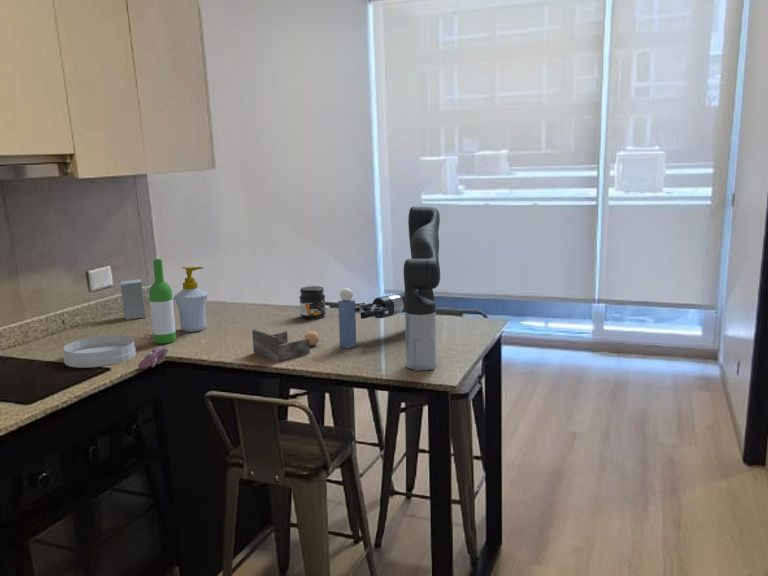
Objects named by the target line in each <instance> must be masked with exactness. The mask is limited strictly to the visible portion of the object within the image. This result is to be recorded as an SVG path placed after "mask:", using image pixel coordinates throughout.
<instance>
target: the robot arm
mask: <svg viewBox="0 0 768 576" xmlns="http://www.w3.org/2000/svg"><path fill="white" fill-rule="evenodd" d="M440 217H441V215H440V212H439V210H438V208H437V207H435V206H412V207H410V208H409V212H408V219H407V220H408V221H407V222H408V224H407V225H408V237H409V250H410V255H411V258H408V259H406V260H405V261H404V263H403V283H404V284H403V285H404V291H403V292H402V293H397V294H389V295H383V296H380V297H375V298H374V299H373V301H372V302H369V303H365V302H360V303H355V314H359V315H360V319H362V320H363V319H368V318H371V319H373V318H375V319H385V318H389V317H394V316H397V315H399V314H402V313H404V314H405V315H404V320H405V322H404V324H405V325H404V326H405V328H404V331H405V366H406V368H407V369H409V370H410V369H411V370H413V371H415V372H418V371H419V372H420V371H431V370H435V369H436V366H437V331H436V330H437V326H436V324H437V323H436V320H437V319H436V317H437V314H436V310H437V307H436V302H435V294H434V290H435V289H436V288H438V286H439V284H440V281H441V268H440V259H439V256H440V255H439V251H440V239H439V228H440V220H441V218H440ZM433 289H434V290H433Z"/></svg>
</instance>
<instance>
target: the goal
mask: <svg viewBox="0 0 768 576" xmlns="http://www.w3.org/2000/svg"><path fill="white" fill-rule="evenodd" d="M251 333H252V335H251V336H252V345H253V346H252V348H253V349H252V350H253V354H255V355H257V356H260V357H262V356H263V358H265V357H266V359H268V360H270V361H273V362H276V363H279V362H282V361H285V359H286V360H289V358H290V359H293V357H294V358H297V357H300V355H301V356H304V354H305V355H308V354H307V353H309V354H311V350H310V349H311V348H310V345H309V338H306V339H305V338H302V339H299V340H298V339H297V340H295V341H290V342H288V341H289V340H288V331H280V332H278V333H277V332H276V333H272V334H271V333H266V332H264V331H260V330H258V329H252V330H251ZM281 360H282V361H281Z"/></svg>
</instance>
